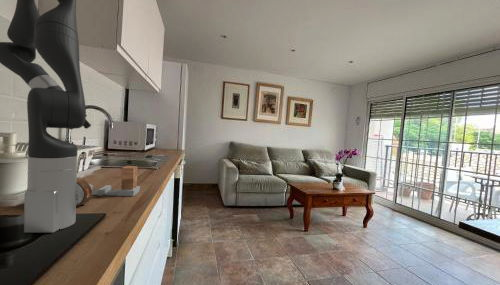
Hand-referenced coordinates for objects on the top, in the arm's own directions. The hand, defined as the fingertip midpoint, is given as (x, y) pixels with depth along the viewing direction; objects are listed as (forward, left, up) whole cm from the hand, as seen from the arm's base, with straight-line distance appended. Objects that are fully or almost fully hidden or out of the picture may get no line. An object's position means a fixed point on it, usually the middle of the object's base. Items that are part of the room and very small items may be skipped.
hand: (81, 127), depth 85 cm
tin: (-14, -3, -24) cm, 28 cm away
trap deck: (0, -8, -24) cm, 25 cm away
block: (0, -17, -22) cm, 28 cm away
